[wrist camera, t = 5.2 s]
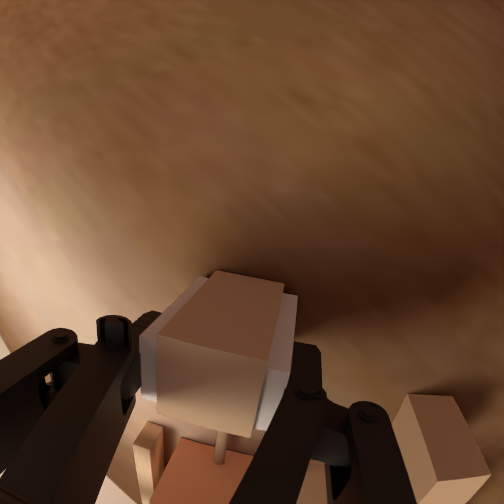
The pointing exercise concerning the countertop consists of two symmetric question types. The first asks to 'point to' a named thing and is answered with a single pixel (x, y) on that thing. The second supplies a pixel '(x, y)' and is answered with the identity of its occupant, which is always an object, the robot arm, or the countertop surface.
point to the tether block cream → (439, 450)
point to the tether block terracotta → (214, 382)
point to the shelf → (152, 468)
